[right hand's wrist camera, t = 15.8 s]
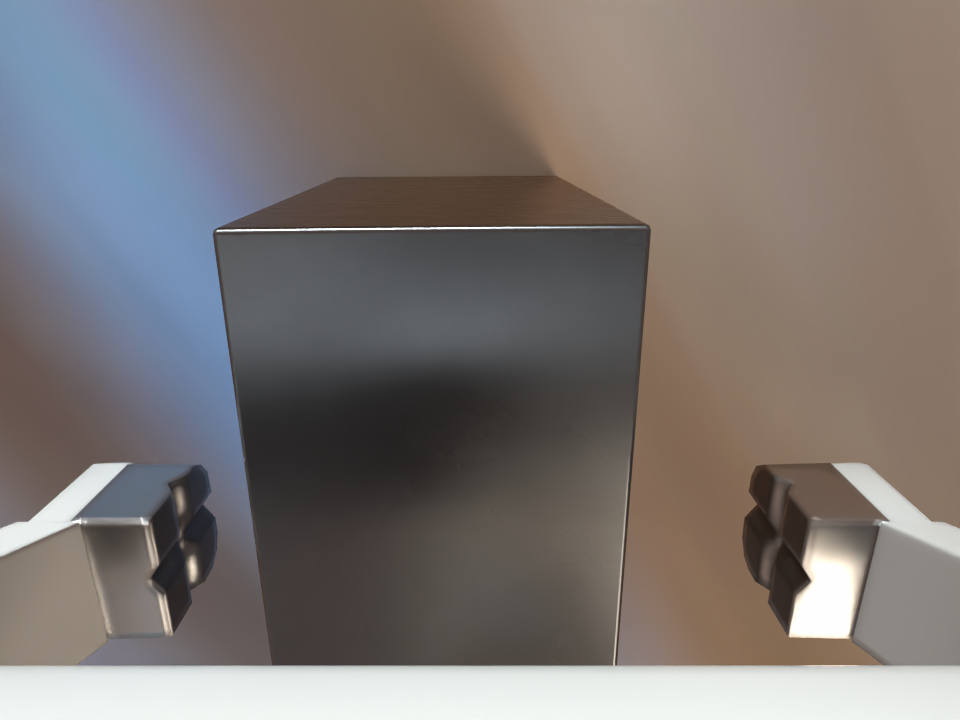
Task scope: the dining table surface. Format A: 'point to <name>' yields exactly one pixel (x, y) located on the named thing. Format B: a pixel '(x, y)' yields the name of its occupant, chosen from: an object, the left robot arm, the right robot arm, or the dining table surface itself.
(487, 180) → the bar
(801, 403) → the dining table surface
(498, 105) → the dining table surface
